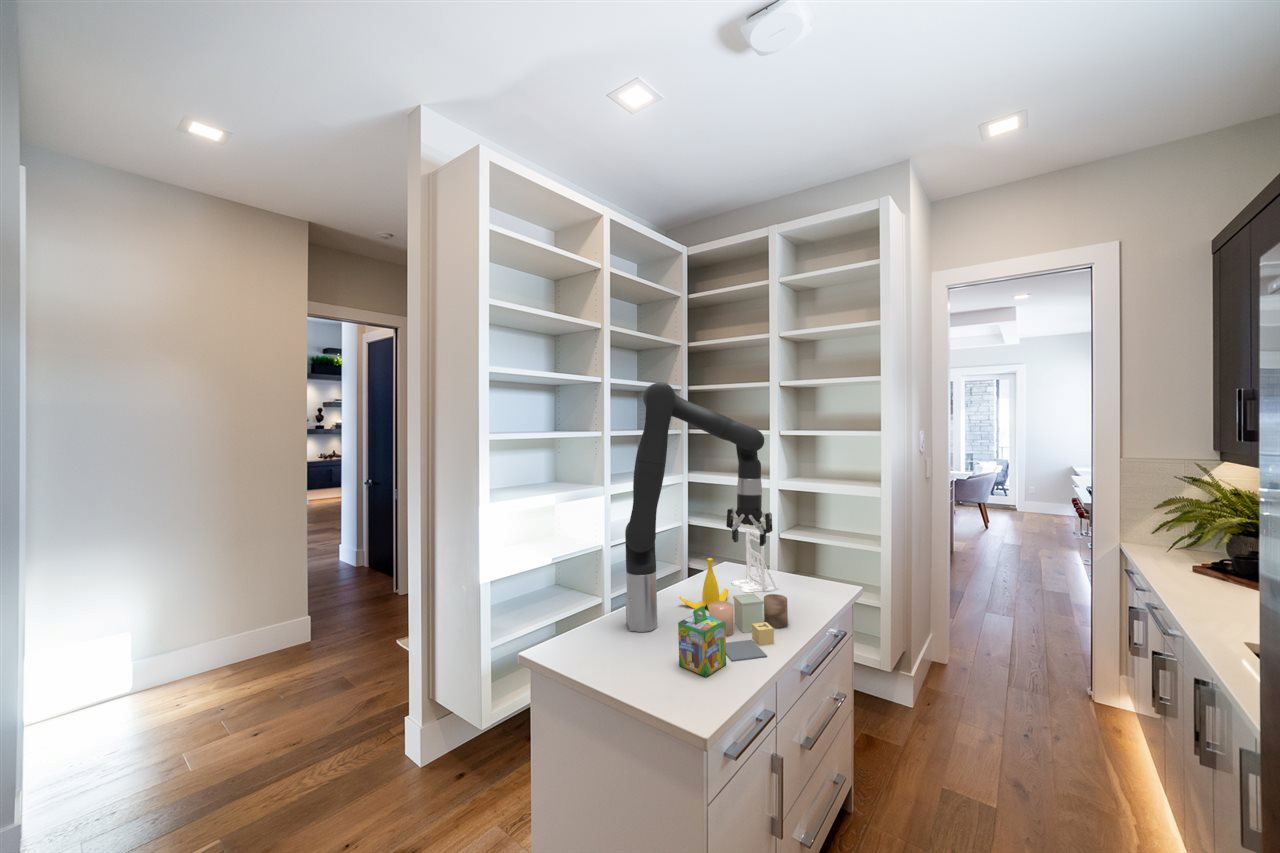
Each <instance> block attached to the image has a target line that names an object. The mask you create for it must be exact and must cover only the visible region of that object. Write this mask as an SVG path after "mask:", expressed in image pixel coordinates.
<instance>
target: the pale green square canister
mask: <svg viewBox="0 0 1280 853" xmlns="http://www.w3.org/2000/svg"><path fill="white" fill-rule="evenodd" d="M732 599H733V622H734V625H735V627H736V628H738V629H739V631H741V632H742V633H752V624H755V623H763V622H764V600H763V599H761V598H760V597H759V596H758V595H756V594H755V593H744V594H737V595H732Z"/></svg>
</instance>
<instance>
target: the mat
mask: <svg viewBox="0 0 1280 853" xmlns="http://www.w3.org/2000/svg"><path fill="white" fill-rule="evenodd" d="M726 657H728V658H729V660H730V661H731V662H739V661H747V660H755V659H763V658H768V654H766V652H765V651H763V649H761V647H760V646H759V645H758V644H757V643H756V642H755V641H754V640H753V639H746V640H744V639H743V640H738V641H728V642H726Z"/></svg>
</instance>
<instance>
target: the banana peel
mask: <svg viewBox="0 0 1280 853" xmlns="http://www.w3.org/2000/svg"><path fill="white" fill-rule="evenodd" d="M706 561H707V573H706V575H705V577H704V581H703V585H702V586H703V587H702V600H701V601H700V602H693V601H689V600H687V599H684V598H683V597H682V596H679V597H678V599H679V600H680V601H682V603H684V604H685V605H687V606H688V607H690V608H692V609H693V610H695V609H697V608H699V607H701V606H704V608H705V607H707V610H708V611H709V604H710V603H711V602H714V601H726V602H727V599H728V598H727V597H728V594H729V592H728V591H729V589H727V588H724V589H723V591H722V592H721V593H720V590H719V586H718V582H717V579H716V578H717V577H716V576H715V574H714V569H713V562H714V559H713V558H711V557H708V558H707V560H706Z"/></svg>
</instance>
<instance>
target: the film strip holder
mask: <svg viewBox="0 0 1280 853" xmlns="http://www.w3.org/2000/svg"><path fill="white" fill-rule="evenodd" d="M757 538H758V539H757ZM751 540H754V541H755V542H757V543H759V544H760V533H757V532H755V531H753V530H751V529H750V528H749V529H748V528H746V530H745V547H746V550H745V562H746V567H745V568H746V569H745V573H746V579H739V580H732V581H731V584H732V585H733V586H735V587H738V588H739V587H740V589H739V590H740V592H741V593H744V594H755V593H761V592H762V593H768V592H775V591H777V590H779V589H780V588H779V587H778V586H777V585H776V583H775V581H774V580H773V577H772V574H771V573H770V572H769V569H768V568H767V566H766V565H767V564H766V562H765V545H764V546H760V547H761V548H760V549H761V550H760V553H759V552H757V551H755V550H753V549H752V545H751ZM760 563H761V564H760ZM752 566H753V567H754V568H755V570H756V572H757V574H758V576H754V575H752V574H753V573H752V570H751V568H752ZM765 570H766V572H767V575H768V577H769V579H770V581H771V584H772V586H770V587H769V586H767V587H766V583H765V582H766V580H765V579H766V575H765V574H766V573H765Z"/></svg>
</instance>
